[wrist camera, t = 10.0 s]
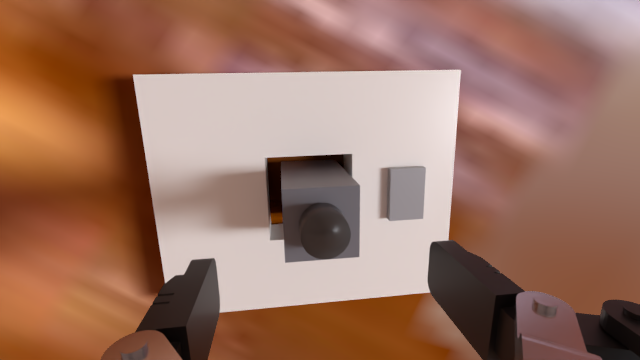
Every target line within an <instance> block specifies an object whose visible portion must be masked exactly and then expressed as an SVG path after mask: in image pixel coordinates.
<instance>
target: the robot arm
mask: <svg viewBox="0 0 640 360" xmlns="http://www.w3.org/2000/svg"><path fill="white" fill-rule="evenodd" d="M428 287H429V290H430V293H431V295H432V296H433V297H434V299H435V300H436V301H437V302H438V304H439V305H440V306H441V307H442V309H443V310H444V311H445V312H446V314H447V315H448V316H449V318H450V319H451V320H452V321H453V322H454V324H455V325H456V326H457V328H458V329H459V330H460V331H461V333H463V335H464V336H465V338H466V339H467V340H468V341H469V343H470V344H471V345H472V347H473V348H474V349H475V350H476V352H477V353H478V354H479V355H480V357H481V358H482V359H483V360H640V305H639V304H636V303H633V302H628V301H623V300H608V301H605V302H604V303H603V306H602V310H601V314H600V315H591V314H590V315H589V314H581V313H575V312H574V310H573V309H572V308H571V307H570V306H569V305H568V304H567V303H565V302H563V301H562V300H560V299H558V298H556V297H554V296H551V295H548V294H545V293H540V292H533V291H532V292H531V291H527V292H525V291H524V290H523V289H521V288H520V287H519V286H517V285H516V284H515V283H514V282H512V281H511V280H510V279H509V278H507V277H506V276H505V275H503V274H502V273H500V272H499V271H498V270H497V269H496V268H494V267H492V265H490V264H489V263H488V262H487V261H485V260H484V259H483V258H481V257H479V256H477V255H474V254H472V253H470V252H467V251H466V250H465V249H464V248H462V247H461V246H460V245H459V244H457V243H456V242H455V241H453V240H447V241H434V242H432V243H431V245H430V252H429V265H428ZM219 312H220V295H219V286H218V277H217V267H216V261H215V259H214V258H208V259H195V260H191V262H190V264H189V266H188V268H187V270H186V272H185V273H184V275H175V276H174V277H173V278H171V279H170V280H169V281H168V282H166V283H165V284H164V285H163V287H162V288H161V290H160V292H159V293H158V297H156V298H155V300H154V302H153V305H151V307H150V308H149V310H148V312H147V313H146V315H145V317H144V318H143V320H142V322H141V323H140V325H139V327H138V328H137V330H136V332H135V333H132V334H129V335H127V336H125V337H123V338H121V339H119V340H118V341H116V342H115V343H114V344H112V345H111V346H110V347H109V348H108V349H107V350H106V351H105V352H104V354H103V355H102V357H101V360H207V359H208V356H209V352H210V348H211V344H212V340H213V336H214V333H215V329H216V325H217V321H218V317H219Z"/></svg>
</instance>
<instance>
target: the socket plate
mask: <svg viewBox="0 0 640 360" xmlns="http://www.w3.org/2000/svg"><path fill="white" fill-rule="evenodd" d="M460 75H461V70H416V71H349V72H282V73H214V74H147V75H133V79H134V86H135V92H136V98H137V105H138V111H139V118H140V124H141V131H142V137H143V144H144V150H145V157H146V163H147V170H148V176H149V183H150V189H151V195H152V202H153V208H154V215H155V221H156V228H157V234H158V241H159V247H160V254H161V260H162V267H163V273H164V280H165V283H166V282H168V281H169V280H170V279H171V278H173V277H174V276H175V275H184V273H185V272H186V270H187V268H188V266H189V264H190V262H191V260H195V259H208V258H214V259H215V261H216V267H217V277H218V286H219V295H220V312H230V311H240V310H251V309H261V308H272V307H282V306H292V305H303V304H313V303H323V302H334V301H344V300H354V299H365V298H375V297H386V296H396V295H406V294H417V293H427V292H430V290H429V287H428V265H429V252H430V245H431V243H432V242H434V241H447V240H448V237H449V224H450V210H451V197H452V183H453V170H454V156H455V143H456V129H457V115H458V102H459V88H460ZM336 154H344V170H345V171H346V172H347V173H348V174H349V175H350V176H351V177H352V178H353V179H354V180H355V181H356V182H357V183H358V184H359V185H360V249H359V257H354V258H341V259H328V260H315V261H302V262H289V263H285V251H284V231H283V224H272V225H271V213H270V198H269V182H268V167H267V158H268V157H291V156H314V155H336ZM220 312H219V313H220Z"/></svg>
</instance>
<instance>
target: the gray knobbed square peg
mask: <svg viewBox="0 0 640 360" xmlns="http://www.w3.org/2000/svg"><path fill="white" fill-rule="evenodd" d="M281 192H282V212H283V231H284V251H285V263H289V262H302V261H315V260H328V259H341V258H354V257H359V249H360V185H359V184H358V183H357V182H356V181H355V180H354V179H353V178H352V177H351V176H350V175H349V174H348V173H347V172H346V171H345V170H344V169H343V168H342V167H341V166H340V165H339V164H338V162H337V161H336V160H335V159H330V160H306V161H282V162H281Z"/></svg>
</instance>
